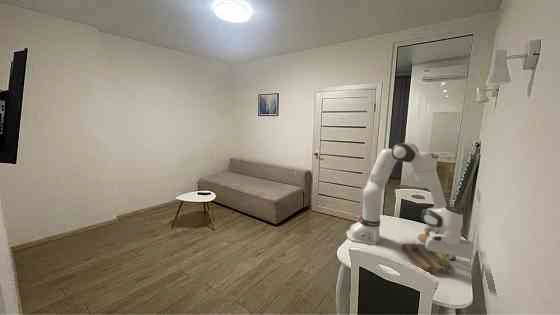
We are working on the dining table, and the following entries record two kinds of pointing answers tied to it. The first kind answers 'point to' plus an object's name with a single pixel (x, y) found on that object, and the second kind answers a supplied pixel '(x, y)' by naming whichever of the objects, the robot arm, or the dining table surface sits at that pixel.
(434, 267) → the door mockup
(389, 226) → the dining table surface
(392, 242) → the dining table surface
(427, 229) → the candle holder
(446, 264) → the lock bar
